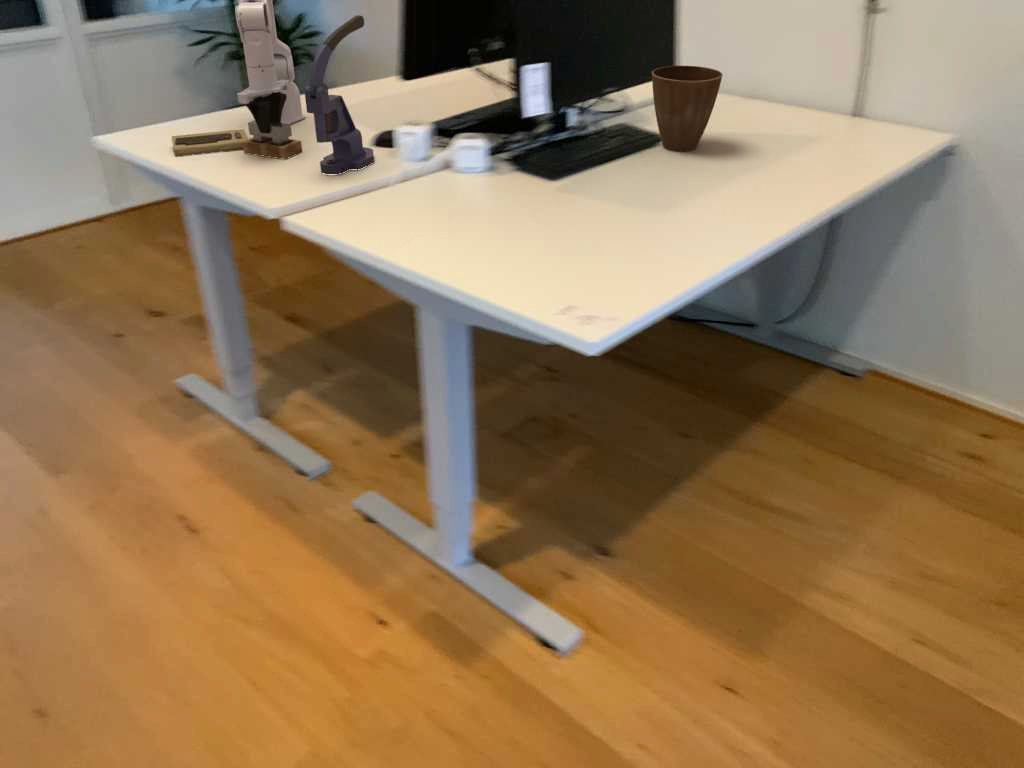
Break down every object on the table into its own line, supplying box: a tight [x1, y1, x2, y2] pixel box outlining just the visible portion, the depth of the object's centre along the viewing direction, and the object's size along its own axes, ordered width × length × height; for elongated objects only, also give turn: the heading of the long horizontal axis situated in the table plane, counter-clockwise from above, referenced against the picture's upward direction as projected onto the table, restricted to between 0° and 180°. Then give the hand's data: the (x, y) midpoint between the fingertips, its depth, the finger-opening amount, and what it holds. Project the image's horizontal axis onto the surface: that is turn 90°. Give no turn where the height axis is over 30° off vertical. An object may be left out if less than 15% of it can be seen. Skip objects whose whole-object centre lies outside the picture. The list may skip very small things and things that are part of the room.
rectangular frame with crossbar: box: [243, 136, 303, 160], centre depth 185 cm, size 6×11×2 cm, turn 65°
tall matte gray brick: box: [247, 119, 293, 146], centre depth 184 cm, size 3×9×6 cm, turn 66°
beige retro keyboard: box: [171, 128, 249, 157], centre depth 188 cm, size 16×8×3 cm, turn 112°
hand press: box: [304, 14, 375, 174], centre depth 172 cm, size 19×9×28 cm, turn 155°
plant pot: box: [651, 65, 723, 152], centre depth 187 cm, size 15×15×16 cm
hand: (270, 130), depth 184 cm, fingers closed on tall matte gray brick, 3 cm apart
